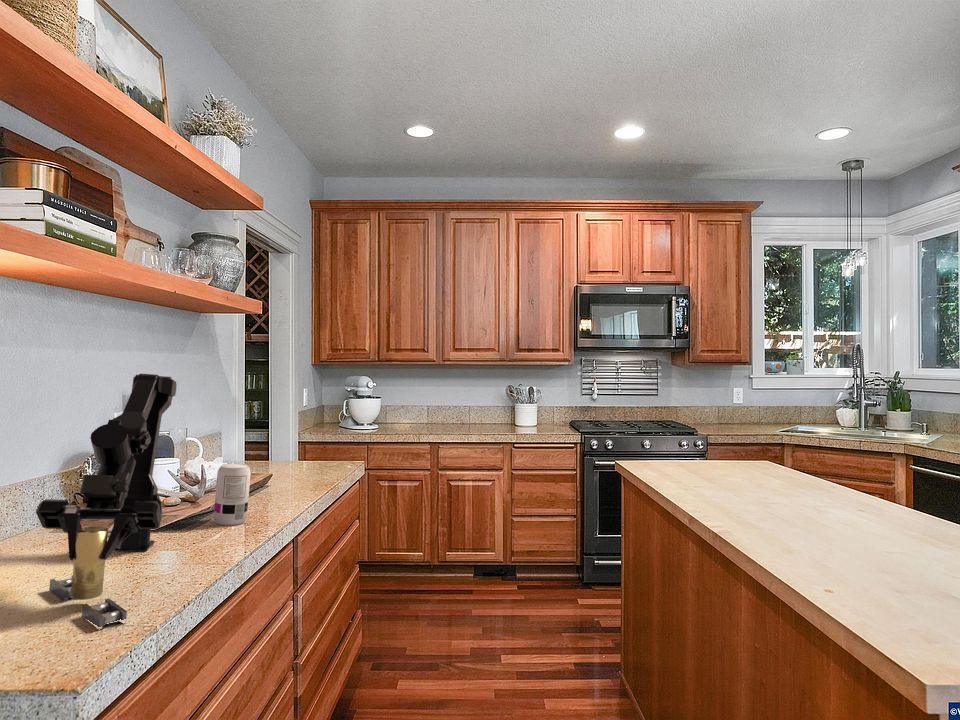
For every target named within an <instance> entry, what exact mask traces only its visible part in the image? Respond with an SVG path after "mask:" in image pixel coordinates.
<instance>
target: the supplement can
mask: <svg viewBox="0 0 960 720" xmlns="http://www.w3.org/2000/svg"><path fill="white" fill-rule="evenodd" d="M216 473H217V475H216V488H215V495H214V496H215V497H214V509H213V521H214V522H215V524H217V525H220V526H238V525H241V524H244V523H245V522H246V520H247V519H248V509H249V508H248V506H249V495H250V481H251V474H252V473H251V470H250V467H249V465H248V464H245V463H238V462H237V463H235V462H234V463H232V462H231V463H222V464H220V466H219V468H218V470H217V472H216Z"/></svg>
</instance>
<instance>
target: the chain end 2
mask: <svg viewBox="0 0 960 720" xmlns="http://www.w3.org/2000/svg"><path fill="white" fill-rule="evenodd" d="M81 608H82V609H81V617H82V618H83V617H84V618H85V619H87V620H89V621H90V622H92V623H93V624H95V625H97V626H98V627H101V626H103V625H104V624H107V623H110V622H114V621H117V620H120V619H121V620H124V619H126V620H127V616H128V615H127V613H128V611H127V610H126V609H124V608H123V607H122V606H120V605H119V604H117V603H116V602H115V601H113V600H112V599H111V598H105V599H104V602H102V603H98V604H94V605H89V603H83V604H82V607H81ZM84 618H83V619H84ZM85 619H84V620H85ZM104 626H105V625H104ZM104 626H103V627H104Z"/></svg>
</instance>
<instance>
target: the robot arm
mask: <svg viewBox="0 0 960 720" xmlns="http://www.w3.org/2000/svg"><path fill="white" fill-rule="evenodd" d="M176 394H177V381H176V380H174V379H172V377H171V376H163V375H158V374H151V373H139V374H136V375H134V376H133V379H132V385H131V392H130V394H129V396H128V399H127V402H126V404H125V406H124V409H123V411H122V413H121V414H119V415H118V416H116V417H113V418H112V419H108V422H107V424H103V425H100V426H98V427H97V428H95V429H94V430H93V431H92V432H91V434H90V443H91V446H92V450H93V454H94V457H95V461H96V462H97V463H98V464H99V466H98V470H97V472H96V474H83V478H82V482H81V486H80V491H79V494H80V495H82V499H81V501H82V504H85V507H80V506H78V505H74V504H73V505H72V504H70V503H69V501H68V500H69V499H50V498H49V499H47V498H46V499H44V500H42V501H40V503H39V504H38V505H37V507H36V511H35V513H36V516H37V517H38V520H39V522H40V524H41V527H42V528H44V529H45V530H46V529H47V530H50V529H51V530H52V529H53V530H55V529H56V530H62V532H64V533H66V534H67V543H68V545H67V546H68V559H69V560H70V561H74V554H75V543H76V532H77V530H79V529H82V528H83V527H82V524H81V523H82V521H83V520H110V521H113V524H114V526H113V529H112V531H111V534H110V536H109V537H107V543H106V546H105V549H104V552H103V557H102V558H103V560H105V561H106V560H107V559H108V558H109V557H110V556H111V554H112V553H113V552H114V551H115V552H116V551H117V552H118V551H119V552H147V551H148V550H149V549H150V548H151V547H152V546H153V545H154V544H155V541H156V540H151V531H152V530H157V529H159V528H160V526H161V522H162V517H163V508H162V507H163V505H162V500H161V499H160V494H159V493H158V492H159V491H158V490H159V488H158V486H157V483H156V482H155V480H154V478H153V475H154V473H153V472H154V469H155V460H156V454H157V448H158V441H159V435H160V431H161V430H160V429H161V422H162V417H163V414H164V413H165V412H166V411H168V409H169V408H170V407H171V405H172V401H173V397H175V396H176Z"/></svg>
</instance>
